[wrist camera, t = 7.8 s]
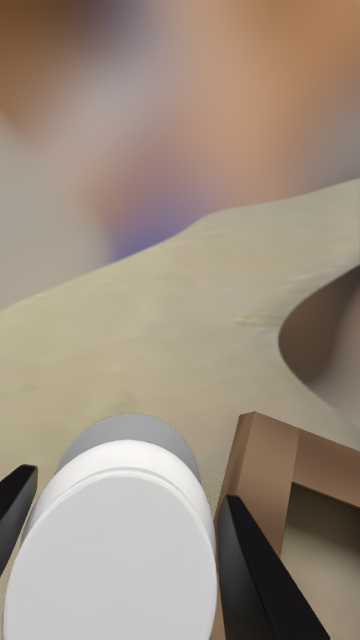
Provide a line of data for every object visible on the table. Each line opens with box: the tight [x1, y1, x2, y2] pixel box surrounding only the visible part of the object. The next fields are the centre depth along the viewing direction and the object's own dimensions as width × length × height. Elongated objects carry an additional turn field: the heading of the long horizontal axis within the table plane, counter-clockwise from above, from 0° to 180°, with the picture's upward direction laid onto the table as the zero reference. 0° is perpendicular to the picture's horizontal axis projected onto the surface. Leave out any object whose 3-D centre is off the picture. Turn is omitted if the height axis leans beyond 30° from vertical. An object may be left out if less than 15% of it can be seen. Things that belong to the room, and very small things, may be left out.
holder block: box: [209, 411, 360, 640], centre depth 15 cm, size 12×12×2 cm
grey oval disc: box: [54, 414, 201, 485], centre depth 16 cm, size 8×8×1 cm
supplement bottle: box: [2, 439, 217, 640], centre depth 10 cm, size 5×5×10 cm
